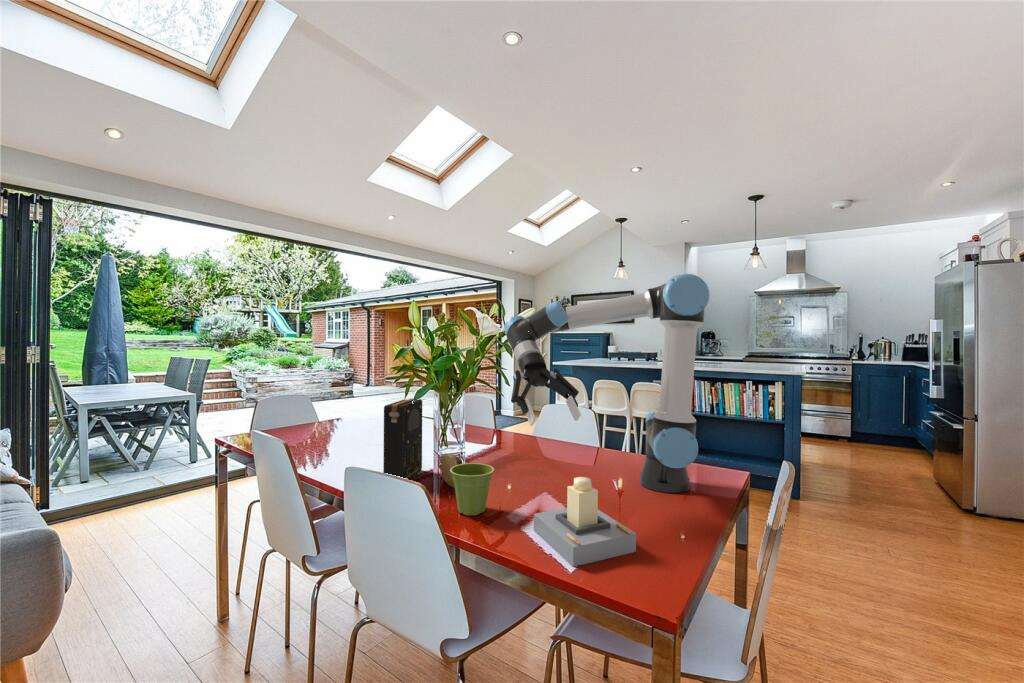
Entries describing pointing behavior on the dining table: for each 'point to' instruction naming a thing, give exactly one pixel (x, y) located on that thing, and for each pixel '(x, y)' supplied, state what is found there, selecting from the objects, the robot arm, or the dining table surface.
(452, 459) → the wooden carving
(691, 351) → the robot arm
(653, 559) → the dining table surface
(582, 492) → the dome-topped cream pillar
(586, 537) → the ball-topped post base
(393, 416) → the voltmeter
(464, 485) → the plant pot
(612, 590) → the dining table surface
